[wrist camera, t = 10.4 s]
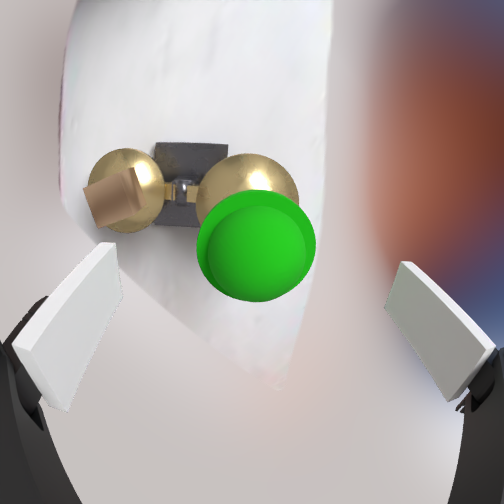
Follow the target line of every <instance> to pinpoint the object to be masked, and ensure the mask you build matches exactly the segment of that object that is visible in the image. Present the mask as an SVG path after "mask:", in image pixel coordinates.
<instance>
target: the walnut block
mask: <svg viewBox="0 0 504 504" xmlns="http://www.w3.org/2000/svg"><path fill="white" fill-rule="evenodd" d="M83 190H84V193H85V196H86V199H87V202H88V204H89V207H90V210H91V212H92V215H93V218H94V220H95V223H96V225H97V228H98V229H99V228H101V227H104V226H106V225H109V224H112V223H114V222H117V221H120V220H122V219H125V218H128V217H131V216H133V215H135V214H136V213H137V212H138V211H139V210H140V209H141V208H143V207H144V206H145V205H146V204H147V203H146V200H145V197H144V195H143V192H142V189H141V186H140V183H139V180H138V177H137V174H136V171H135V168H134V167H132V168H129V169H126V170H123V171H121V172H118V173H116V174H113V175H111V176H109V177H107V178H104V179H102V180H100V181H98V182H96V183H94V184H92V185H89V186H87V187H85V188H83Z"/></svg>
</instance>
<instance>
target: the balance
mask: <svg viewBox="0 0 504 504" xmlns="http://www.w3.org/2000/svg"><path fill="white" fill-rule="evenodd" d="M227 155H228V144H212V143H184V142H157V143H156V151H155V161H154V160H153V159H152V158H151V157H150V156H149V155H147V154H146V153H144V152H142V151H140V150H137V149H132V148H123V149H117V150H114V151H111V152H109V153H107V154H106V155H104V156H103V157H102V158H101V159H100V160H99V161H98V162H97V163H96V165H95V166H94V168H93V170H92V171H91V174H90V177H89V181H88V186H89V185H92V184H94V183H96V182H98V181H100V180H102V179H104V178H107V177H109V176H111V175H113V174H116V173H118V172H121V171H123V170H126V169H129V168H132V167H134V168H135V171H136V174H137V177H138V180H139V183H140V186H141V189H142V192H143V195H144V197H145V200H146V203H147V204H146V205H145V206H144V207H143V208H141V209H140V210H139V211H138V212H137V213H136V214H135V215H133V216H131V217H128V218H125V219H122V220H120V221H117V222H114V223H112V224H109V225H106V226H107V227H108V228H110V229H112V230H114V231H117V232H122V233H132V232H137V231H140V230H142V229H144V228H146V227H147V226H149V225H150V224H151V223H152V222H153V221H154V220H155V225H169V226H187V227H201V225H202V223H203V221H204V219H205V217H206V216H207V215H208V213H209V212H210V211H211V209H212V208H213V207H214V206H215V205H216V204H218V203H219V202H220V201H221V200H223V199H225V198H226V197H228V196H230V195H232V194H235V193H237V192H240V191H245V190H252V189H263V190H269V191H274V192H277V193H279V194H282V195H284V196H286V197H287V198H289V199H291V200H292V201H293V202H294V203H296V204H297V205H298V206H299V196H298V191H297V188H296V185H295V183H294V181H293V179H292V177H291V176H290V174H289V173H288V172H287V171H286V170H285V168H283V167H282V166H281V165H280V164H279V163H277V162H275V161H274V160H272V159H270V158H268V157H265V156H262V155H258V154H251V153H244V154H237V155H233V156H230V157H227Z"/></svg>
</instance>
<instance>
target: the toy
mask: <svg viewBox="0 0 504 504" xmlns="http://www.w3.org/2000/svg"><path fill="white" fill-rule="evenodd" d="M315 249H316V240H315V234H314V230H313V227H312V225H311V222H310V220H309V219H308V217H307V216H306V214H305V213H304V212H303V210H302V209H301V208H300V207H299V206H298V205H297V204H296V203H294V202H293V201H292V200H291V199H289V198H287V197H286V196H284V195H282V194H279V193H277V192H274V191H269V190H263V189H252V190H245V191H240V192H237V193H235V194H232V195H230V196H228V197H226V198H225V199H223V200H221V201H220V202H219V203H218V204H216V205H215V206H214V207H213V208H212V209H211V211H210V212H209V213H208V215H207V216H206V217H205V219H204V221H203V223H202V225H201V228H200V231H199V235H198V238H197V258H198V262H199V265H200V268H201V270H202V272H203V274H204V276H205V277H206V278H207V280H208V281H209V282H210V283H211V284H212V285H213V286H214V287H215V288H216V289H217V290H219V291H220V292H222V293H224V294H225V295H227V296H230V297H232V298H235V299H238V300H242V301H249V302H265V301H270V300H273V299H276V298H278V297H280V296H282V295H283V294H285V293H287V292H289V291H290V290H292V289H293V288H294V287H296V286H297V285H298V284H299V283H300V282H301V281H302V280H303V278H304V277H305V276H306V274H307V273H308V271H309V269H310V267H311V265H312V263H313V260H314V256H315Z"/></svg>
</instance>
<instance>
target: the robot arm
mask: <svg viewBox="0 0 504 504" xmlns="http://www.w3.org/2000/svg"><path fill="white" fill-rule="evenodd" d="M122 298H123V294H122V288H121V282H120V275H119V267H118V259H117V251H116V243H109V242H100V243H99V244H98V245H97V246H96V247H95V248H94V249H93V250H92V251H91V252H90V253H89V254H88V255H87V256H86V257H85V258H84V259H83V260H82V261H81V262H80V263H79V264H78V265H77V266H76V267H75V268H74V269H73V270H72V272H70V274H69V275H68V276H67V277H66V278H65V279H64V280H63V281H62V282H61V283H60V284H59V286H58V287H57V288H56V289H55V290H54V291H53V293H52V294H51V295H50V296H45V297H44V298H42V299H40V300H39V301H38V302H36V303H35V304H34V305H33V306H32V308H31V309H30V310H29V311H28V313H27V314H26V315H25V316H24V317H23V318H22V321H20V322H19V323H18V325H17V326H16V327H15V328H14V330H13V331H12V332H11V334H10V335H9V336H8V338H7V339H6V340H5V342H4V343H3V344H2V343H1V341H0V504H82V503H81V501H80V499H79V497H78V496H77V494H76V492H75V490H74V488H73V486H72V484H71V482H70V480H69V478H68V476H67V474H66V472H65V470H64V467H63V465H62V463H61V461H60V458H59V456H58V454H57V451H56V448H55V446H54V443H53V441H52V438H51V435H50V432H49V430H48V427H47V424H46V420H45V417H44V414H43V411H42V408H41V406H40V404H39V403H38V402H39V400H40V398H41V396H42V397H43V398H44V399H45V401H46V402H47V404H48V405H49V406H50V407H53V408H56V409H58V410H61V411H64V412H68V410H69V408H70V405H71V403H72V400H73V398H74V396H75V393H76V391H77V389H78V386H79V384H80V382H81V379H82V377H83V375H84V373H85V370H86V368H87V366H88V364H89V362H90V360H91V358H92V355H93V353H94V352H95V349H96V347H97V345H98V343H99V341H100V339H101V337H102V335H103V333H104V331H105V330H106V328H107V326H108V324H109V322H110V320H111V318H112V316H113V314H114V313H115V311H116V309H117V307H118V305H119V304H120V302H121V300H122ZM384 308H385V310H386V311H387V312H388V314H389V315H390V316H391V318H392V319H393V321H394V322H395V323H396V325H397V326H398V328H399V329H400V330H401V332H402V333H403V335H404V336H405V338H406V339H407V341H408V342H409V343H410V345H411V346H412V348H413V349H414V351H415V352H416V354H417V355H418V357H419V358H420V360H421V361H422V363H423V364H424V366H425V367H426V369H427V370H428V372H429V373H430V375H431V376H432V378H433V380H434V381H435V383H436V384H437V386H438V388H439V389H440V391H441V392H442V394H443V396H444V397H445V399H446V401H447V402H449V401H452V400H454V399H456V398H459V396H460V395H461V394H462V393H463V392H464V390H465V389H466V388H467V387H468V389H469V390H470V392H469V393H468V394H467V395H466V397H465V398H464V399H463V400H462V401H461V403H460V404H459V405H458V406H457V407H456V410H455V411H458V410H459V409H460V408H461V406H464V408H462V410H461V411H460V412H461V413H464V424H463V433H462V441H461V447H460V453H459V459H458V464H457V469H456V474H455V478H454V482H453V486H452V490H451V493H450V497H449V501H448V504H504V348H501V349H500V350H499V351H498V350H497V349H496V348H495V347H496V345H495V344H494V343H493V342H492V341H491V340H490V339H489V337H488V336H487V335H486V334H485V333H484V332H483V331H482V330H481V329H480V328H479V326H478V325H477V324H476V323H475V322H474V321H473V320H472V319H471V318H470V317H469V316H468V315H467V314H466V313H465V312H464V311H463V310H462V309H461V308H460V307H459V306H458V305H457V304H456V303H455V302H454V301H453V300H452V299H451V298H450V297H449V296H448V295H447V294H446V293H445V292H444V291H443V290H442V289H441V288H440V287H439V286H438V285H437V284H436V283H434V281H432V280H431V279H430V278H429V277H428V276H427V275H426V274H425V273H424V272H423V271H421V270H420V269H419V268H418V267H417V266H416V265H415V264H413V263H412V262H403V261H401V262H400V265H399V268H398V271H397V274H396V277H395V280H394V283H393V286H392V288H391V291H390V294H389V296H388V299H387V301H386V304H385V307H384Z"/></svg>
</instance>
